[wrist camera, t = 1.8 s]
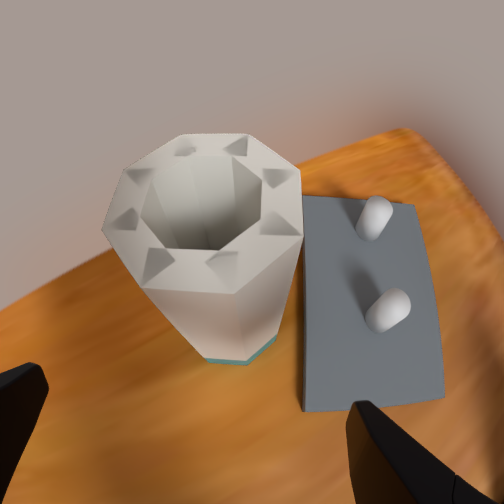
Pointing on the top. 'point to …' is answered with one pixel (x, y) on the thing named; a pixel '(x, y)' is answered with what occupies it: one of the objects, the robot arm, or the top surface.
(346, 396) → the pin plate
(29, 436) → the robot arm
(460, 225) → the top surface
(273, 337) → the vase
